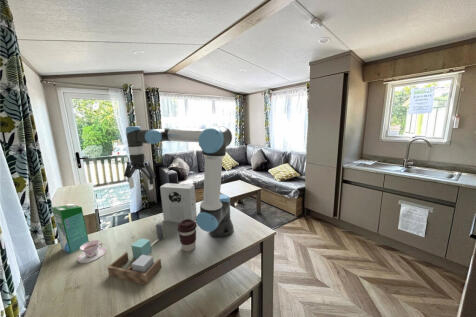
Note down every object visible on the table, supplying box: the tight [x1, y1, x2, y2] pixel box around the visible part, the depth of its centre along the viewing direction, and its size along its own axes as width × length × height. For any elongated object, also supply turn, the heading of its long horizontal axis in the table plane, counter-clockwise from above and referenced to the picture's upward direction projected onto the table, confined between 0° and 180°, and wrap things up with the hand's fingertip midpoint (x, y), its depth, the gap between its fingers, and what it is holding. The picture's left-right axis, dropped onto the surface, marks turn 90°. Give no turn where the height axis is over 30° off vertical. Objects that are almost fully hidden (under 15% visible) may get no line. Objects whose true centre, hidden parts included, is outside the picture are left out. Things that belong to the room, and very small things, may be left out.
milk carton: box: [51, 203, 90, 254], centre depth 104 cm, size 9×9×25 cm
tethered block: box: [131, 222, 164, 260], centre depth 103 cm, size 6×19×9 cm, turn 163°
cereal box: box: [159, 182, 198, 223], centre depth 130 cm, size 22×8×25 cm, turn 77°
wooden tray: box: [107, 251, 162, 285], centre depth 87 cm, size 20×10×4 cm, turn 75°
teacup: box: [77, 239, 107, 264], centre depth 99 cm, size 12×12×6 cm
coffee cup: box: [177, 219, 198, 252], centre depth 102 cm, size 10×10×15 cm
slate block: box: [131, 255, 155, 273], centre depth 85 cm, size 6×6×7 cm
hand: (141, 188), depth 112 cm, fingers open, 13 cm apart
